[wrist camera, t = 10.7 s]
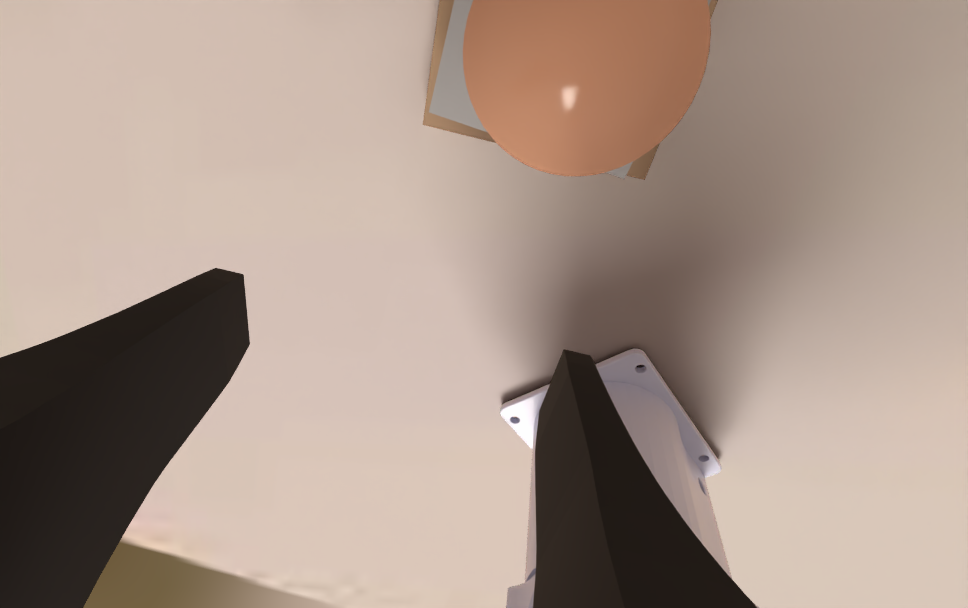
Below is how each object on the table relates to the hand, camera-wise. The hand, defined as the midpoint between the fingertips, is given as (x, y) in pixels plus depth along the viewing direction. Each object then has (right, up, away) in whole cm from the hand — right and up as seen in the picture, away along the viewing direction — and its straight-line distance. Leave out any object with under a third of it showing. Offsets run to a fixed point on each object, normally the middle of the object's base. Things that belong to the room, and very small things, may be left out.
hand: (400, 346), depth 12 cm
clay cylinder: (+4, +8, +1) cm, 9 cm away
